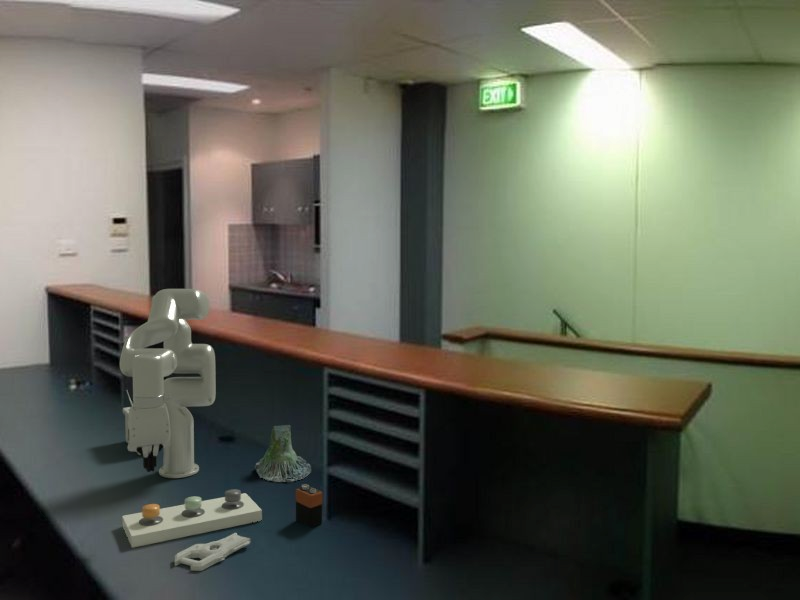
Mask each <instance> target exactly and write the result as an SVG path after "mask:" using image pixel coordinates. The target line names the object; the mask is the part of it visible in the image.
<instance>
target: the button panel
mask: <svg viewBox="0 0 800 600" xmlns="http://www.w3.org/2000/svg"><path fill="white" fill-rule="evenodd" d="M201 504H202V506H201V507H200V508H199V509H195V510H187V509H185V503H183V504H180V505H179V504H178V505H174V506H168V507H164V508H160V514H159V515H158V516H157V517H153V518H144V517H142V511H141V512H135V513H131V514H125V515H122V518H121V519H122V528H123V530H125V531H124V533H125V534H126V537H128V538H127V540H128V542H129V544H130V546H131V548H132V549H133V548H137V547H142V546H147V545H151V544H156V543H161V542H166V541H171V540H175V539H176V540H177V539H181V538H185V537H189V536H194V535H200V534H205V533H209V532H214V531H220V530H223V529H228V528H233V527H237V526H242V525H248V524H252V522H253V523H256V522H257V521H258V522H262V521H263V510H262V508H261V507H259V505H258V504H257V503H256V502H255V501H254V500H253V499H252V498H251V496H249V495H248V494H247V493H246V492H245V493H244V492H243V493H241V500H239V501H237V502H226V501H225V496H223V497H218V498H212V499H206V500H201ZM261 520H262V521H261Z"/></svg>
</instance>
